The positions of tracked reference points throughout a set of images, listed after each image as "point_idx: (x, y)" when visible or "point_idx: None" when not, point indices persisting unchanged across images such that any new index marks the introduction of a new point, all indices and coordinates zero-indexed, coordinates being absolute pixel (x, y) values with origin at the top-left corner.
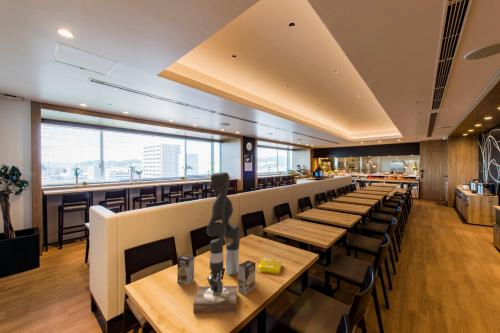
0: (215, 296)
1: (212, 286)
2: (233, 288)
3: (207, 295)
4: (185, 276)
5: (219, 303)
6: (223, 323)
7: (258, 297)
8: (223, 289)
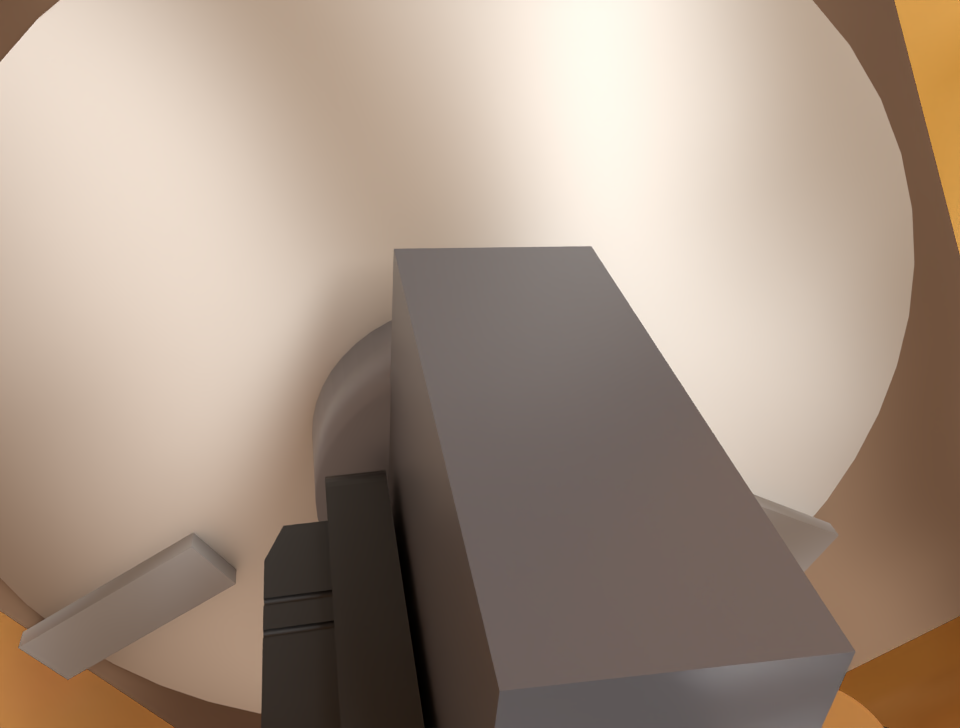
0: (309, 475)
1: (419, 491)
2: (914, 577)
3: (146, 203)
4: None
5: (152, 709)
6: (18, 720)
7: (904, 713)
8: (772, 430)
